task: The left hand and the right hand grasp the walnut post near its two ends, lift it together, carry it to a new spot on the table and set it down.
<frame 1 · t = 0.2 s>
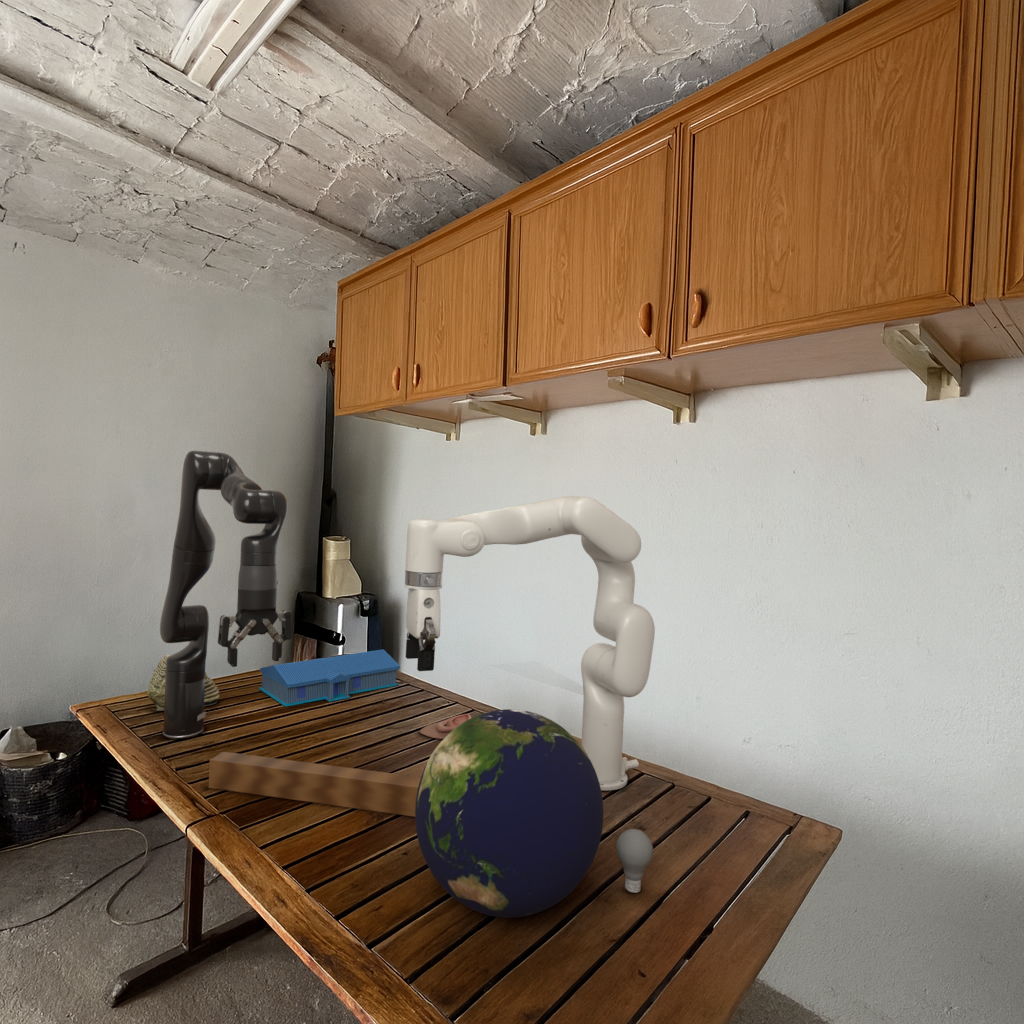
left hand: (254, 663, 132), 28 cm above the table, tool pointing down, fingers open, 8 cm apart
right hand: (419, 664, 128), 30 cm above the table, tool pointing down, fingers open, 9 cm apart
fossil: (183, 706, 185), on the table
model building: (332, 688, 208), on the table
post: (330, 799, 133), on the table
globe: (505, 900, 102), on the table
anatomical model: (445, 732, 174), on the table
light bulb: (632, 891, 106), on the table
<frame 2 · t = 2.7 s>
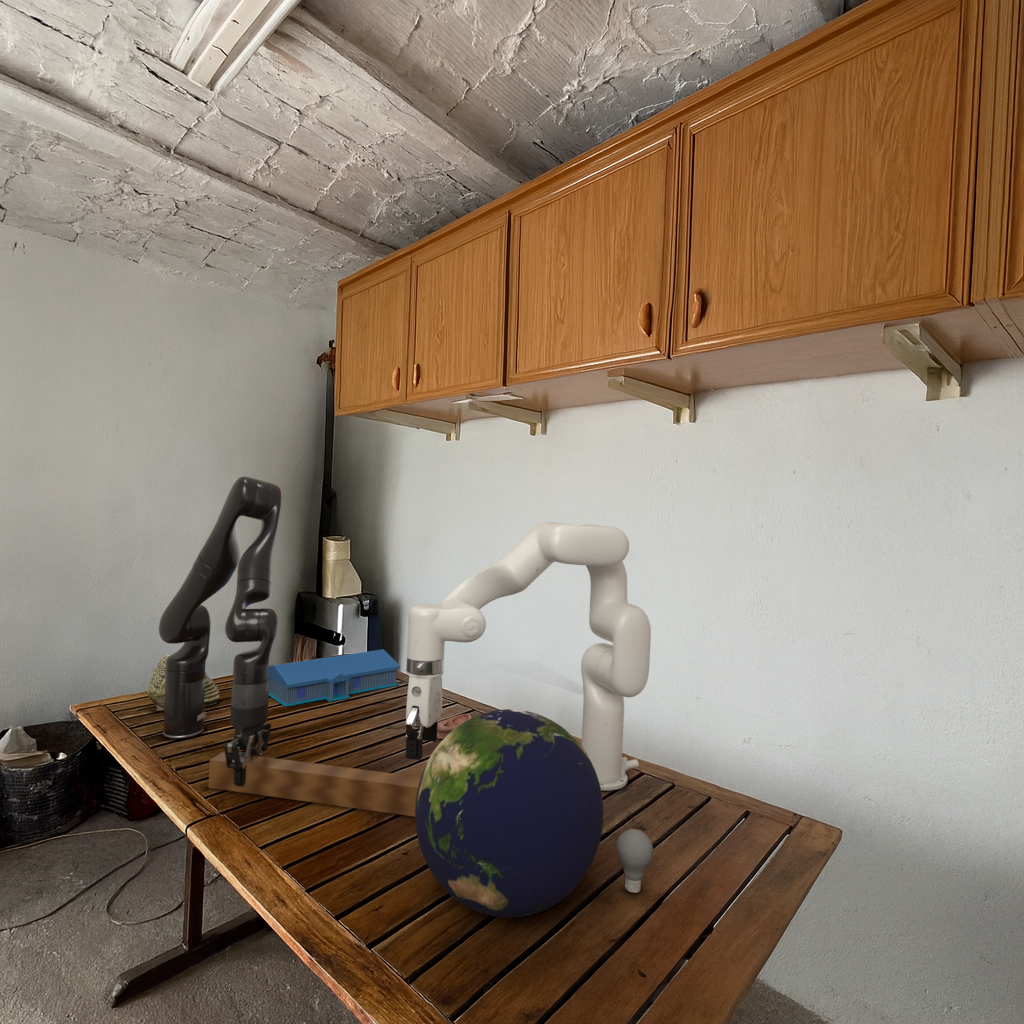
left hand: (247, 779, 137), 2 cm above the table, tool pointing down, fingers closed on post, 4 cm apart
right hand: (421, 749, 129), 13 cm above the table, tool pointing down, fingers open, 9 cm apart
post: (330, 799, 133), on the table, touching left hand
everything else where it was.
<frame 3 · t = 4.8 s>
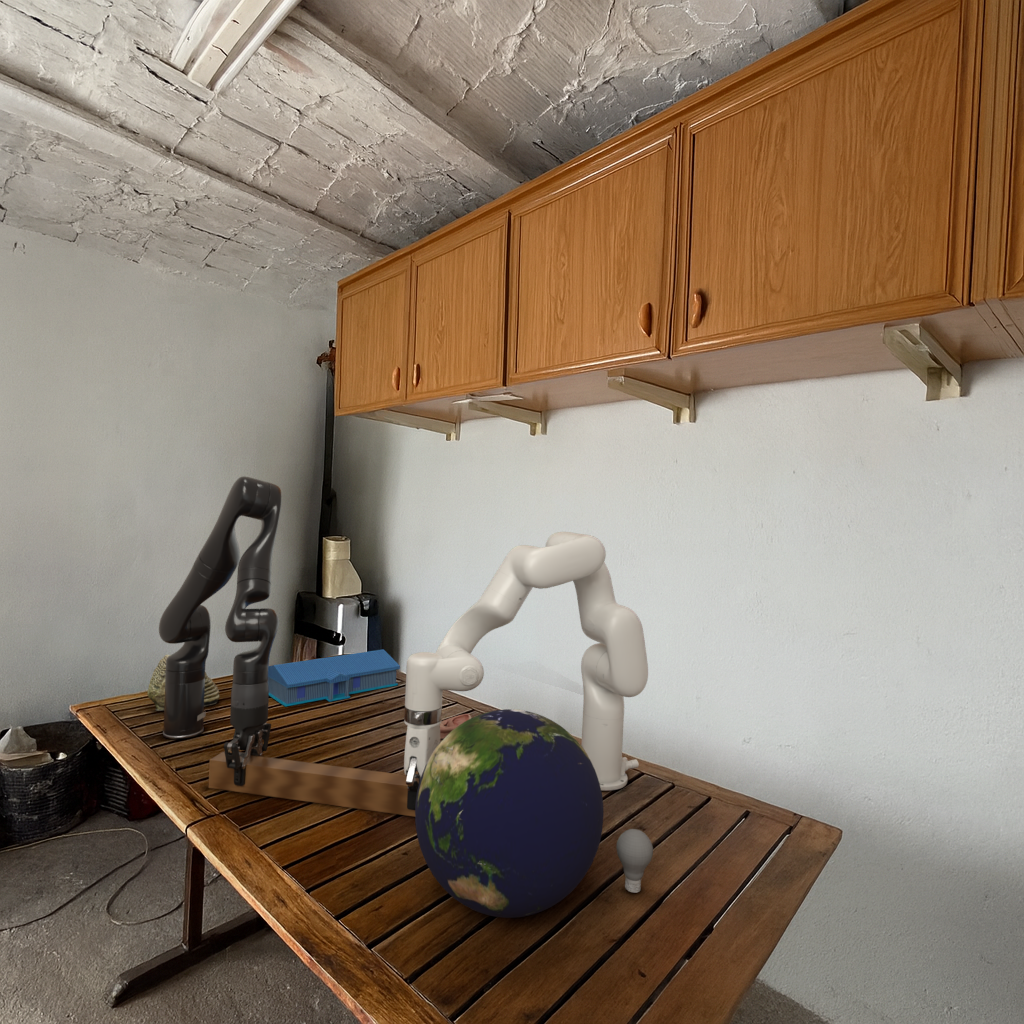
left hand: (247, 779, 137), 2 cm above the table, tool pointing down, fingers closed on post, 4 cm apart
right hand: (419, 802, 129), 2 cm above the table, tool pointing down, fingers closed on post, 4 cm apart
post: (330, 799, 133), on the table, touching left hand, right hand
everything else where it was.
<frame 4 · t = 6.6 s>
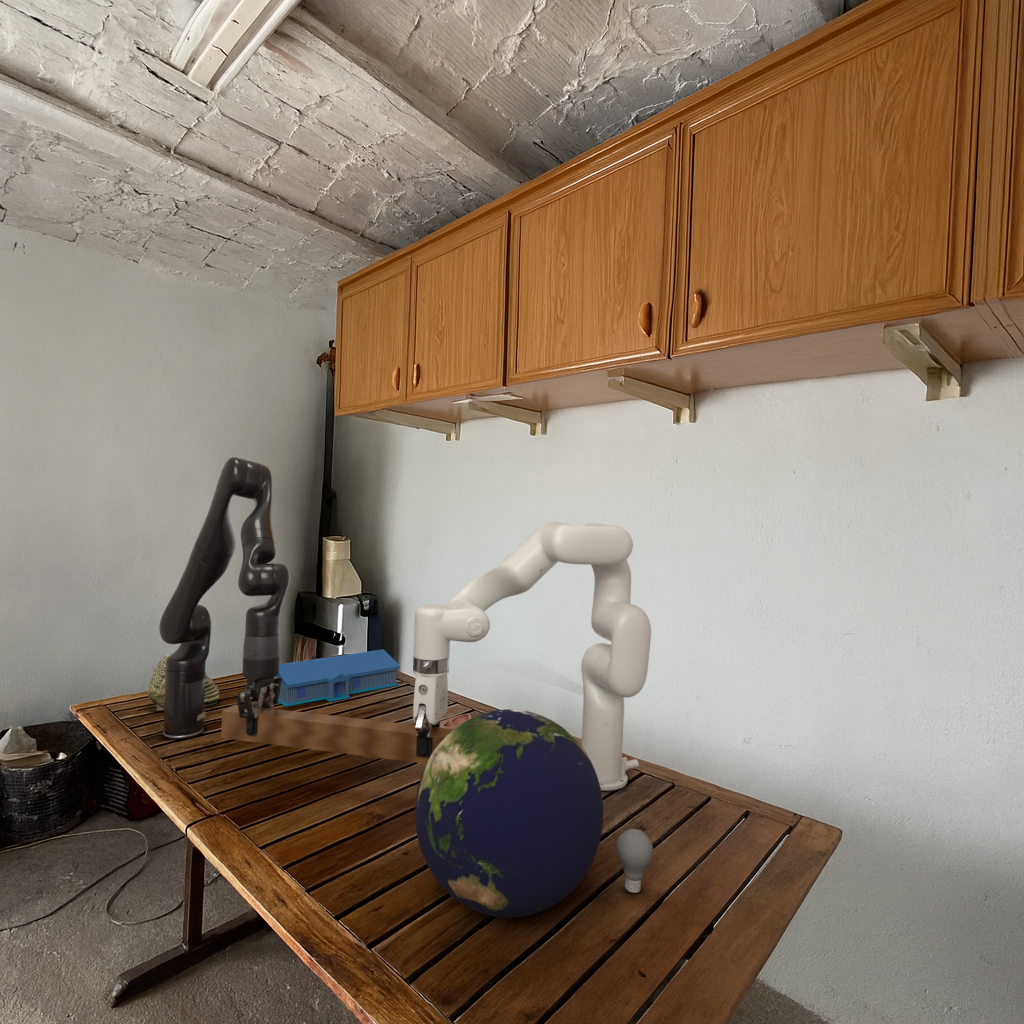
left hand: (258, 730, 140), 11 cm above the table, tool pointing down, fingers closed on post, 4 cm apart
right hand: (428, 750, 133), 11 cm above the table, tool pointing down, fingers closed on post, 4 cm apart
post: (341, 748, 136), point 9 cm above the table, touching left hand, right hand
everything else where it was.
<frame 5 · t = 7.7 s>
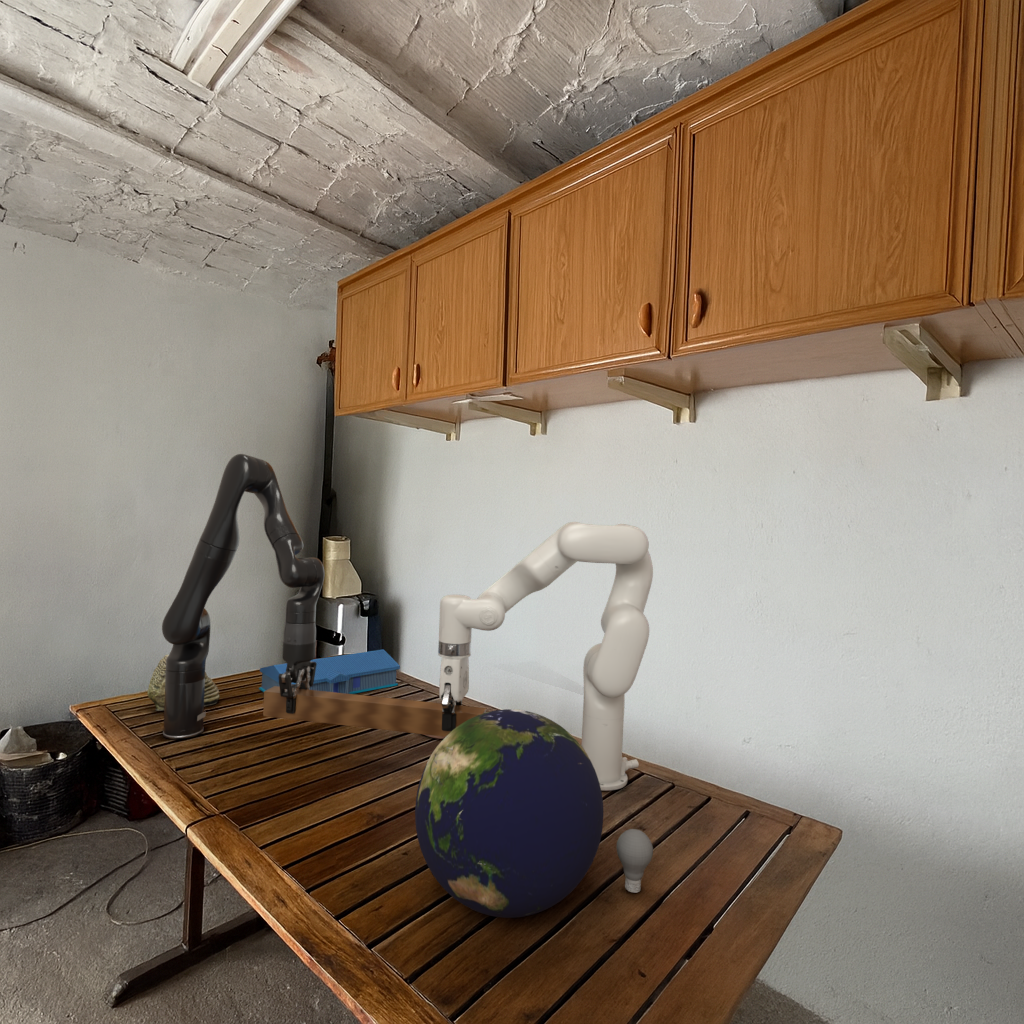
left hand: (296, 709, 154), 11 cm above the table, tool pointing down, fingers closed on post, 4 cm apart
right hand: (451, 725, 147), 11 cm above the table, tool pointing down, fingers closed on post, 4 cm apart
post: (372, 724, 151), point 10 cm above the table, touching left hand, right hand
everything else where it was.
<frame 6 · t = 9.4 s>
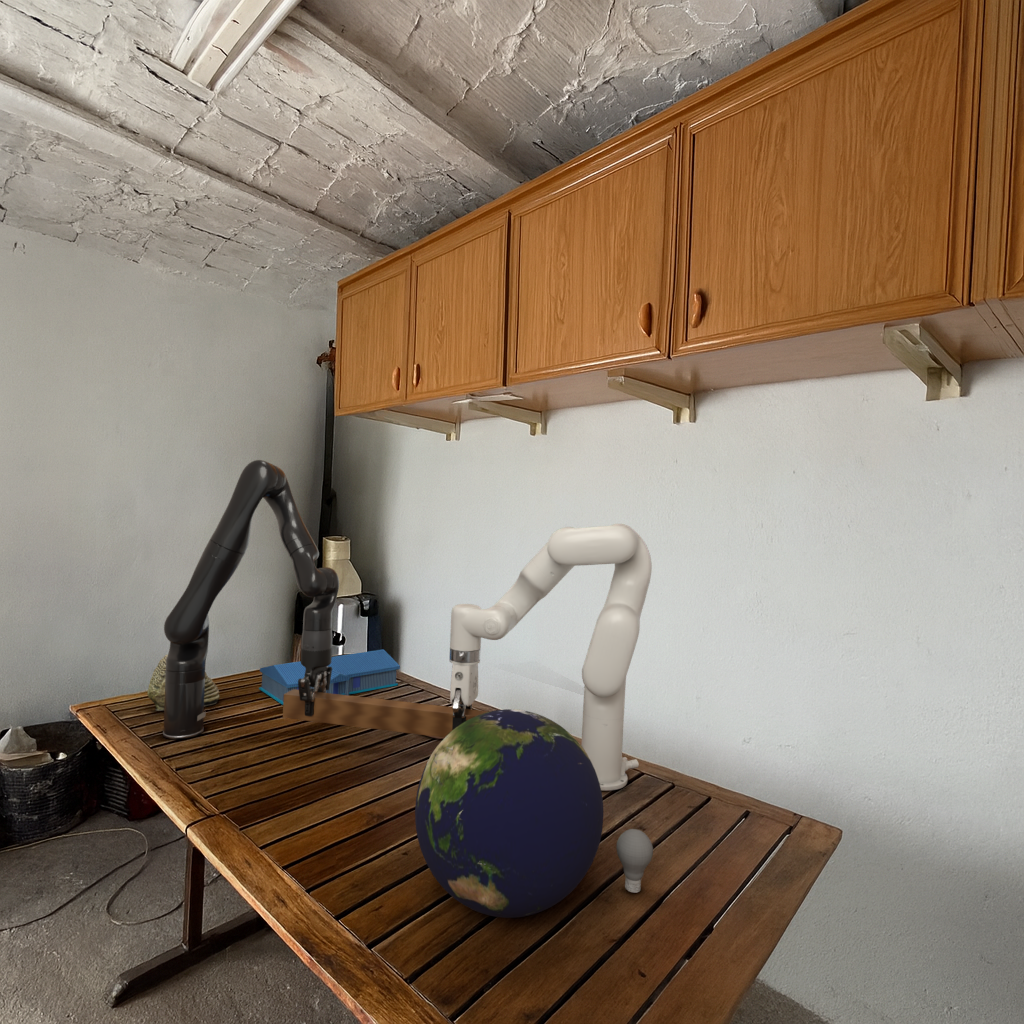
left hand: (314, 711, 162), 8 cm above the table, tool pointing down, fingers closed on post, 4 cm apart
right hand: (461, 728, 155), 8 cm above the table, tool pointing down, fingers closed on post, 4 cm apart
post: (386, 726, 159), point 6 cm above the table, touching left hand, right hand
everything else where it was.
when the right hand's fingers open (3 cm above the table, at t = 10.6 s): post stays where it is, on the table.
when the left hand's fingers open (3 cm above the table, at t = 10.7 s): post stays where it is, on the table.
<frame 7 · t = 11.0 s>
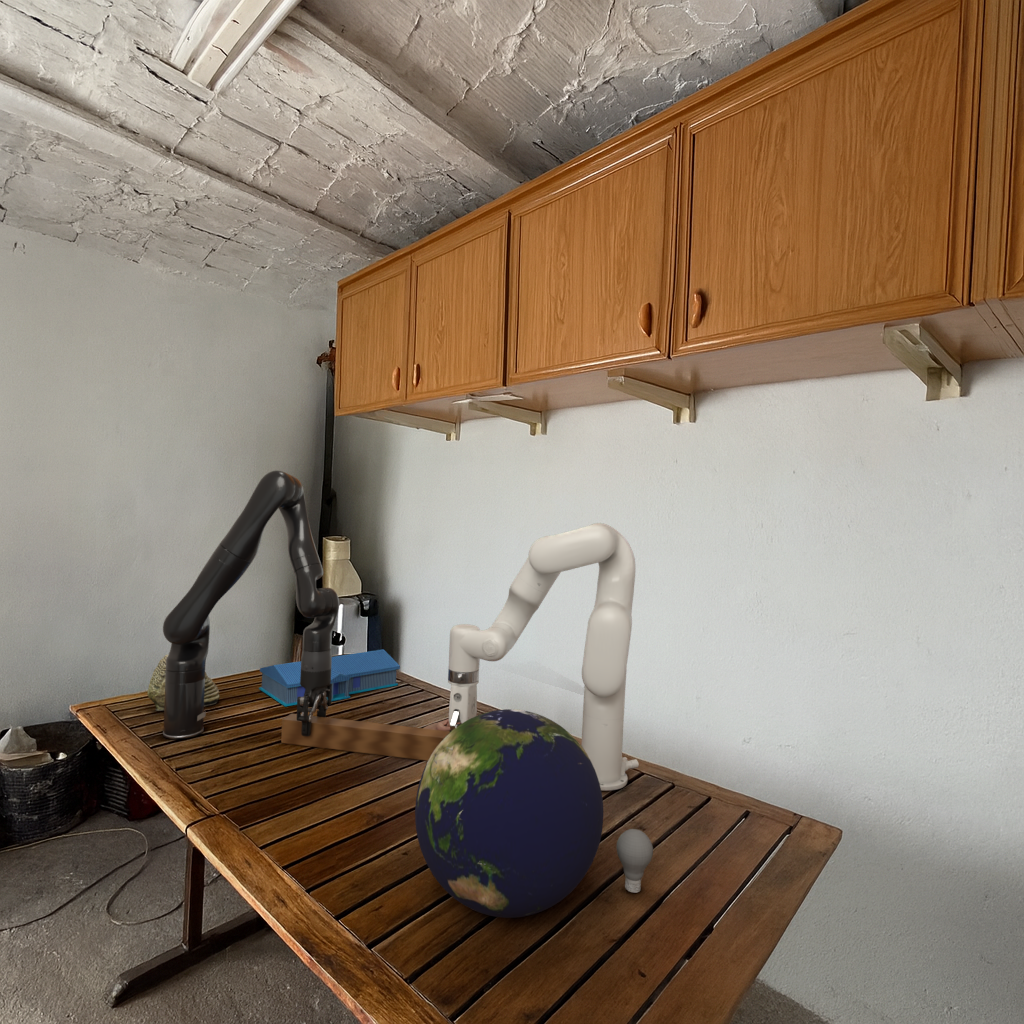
left hand: (313, 730, 162), 3 cm above the table, tool pointing down, fingers open, 7 cm apart
right hand: (460, 746, 155), 4 cm above the table, tool pointing down, fingers open, 8 cm apart
post: (384, 751, 159), on the table
everything else where it was.
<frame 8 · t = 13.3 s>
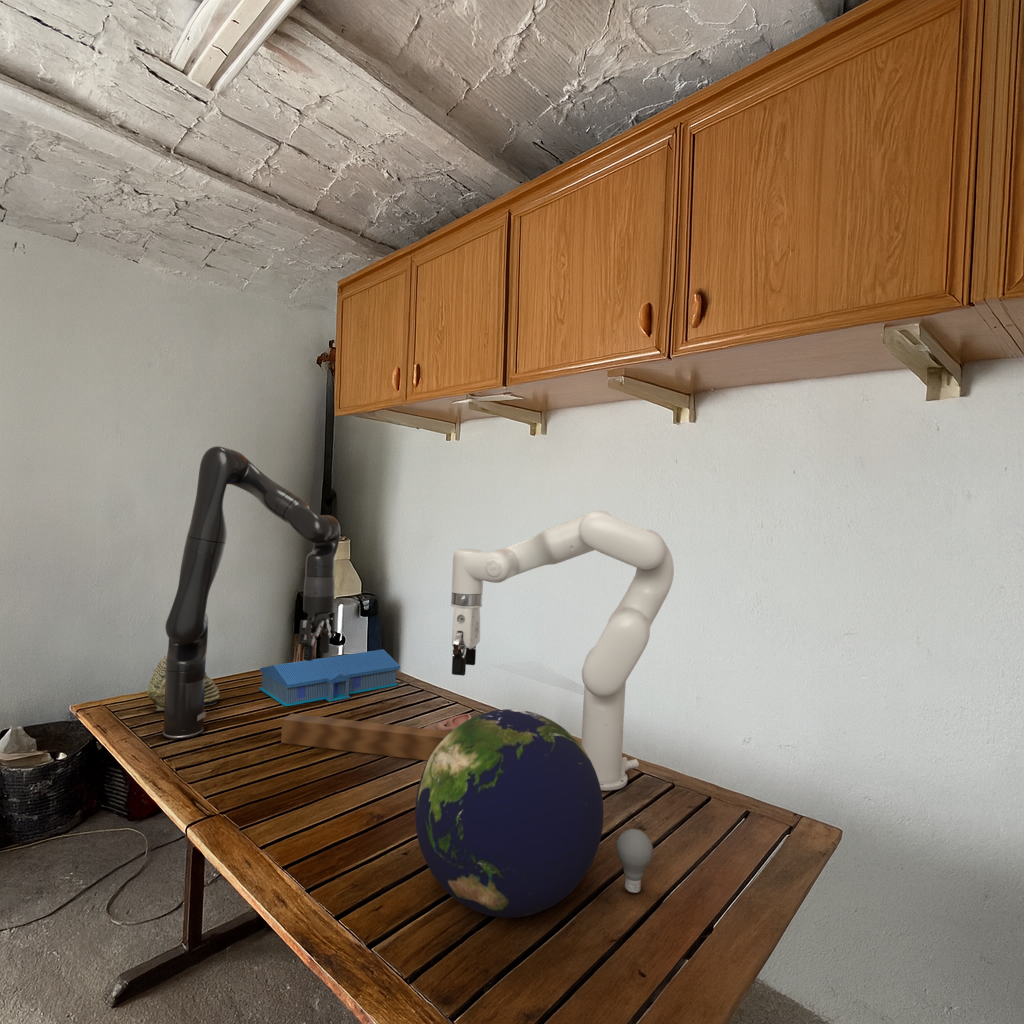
left hand: (316, 656, 162), 22 cm above the table, tool pointing down, fingers open, 8 cm apart
right hand: (463, 669, 155), 22 cm above the table, tool pointing down, fingers open, 9 cm apart
nothing on the table moved.
at the end: post inside the target area (0.0 cm from its centre), on the table; post tilted 0°; post never tilted more than 1° during the clip; both hands held the post at the same time; the left hand is holding nothing; the right hand is holding nothing; post at rest at the end (0.0 cm/s) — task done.
